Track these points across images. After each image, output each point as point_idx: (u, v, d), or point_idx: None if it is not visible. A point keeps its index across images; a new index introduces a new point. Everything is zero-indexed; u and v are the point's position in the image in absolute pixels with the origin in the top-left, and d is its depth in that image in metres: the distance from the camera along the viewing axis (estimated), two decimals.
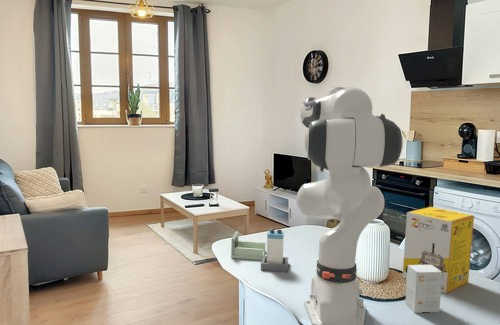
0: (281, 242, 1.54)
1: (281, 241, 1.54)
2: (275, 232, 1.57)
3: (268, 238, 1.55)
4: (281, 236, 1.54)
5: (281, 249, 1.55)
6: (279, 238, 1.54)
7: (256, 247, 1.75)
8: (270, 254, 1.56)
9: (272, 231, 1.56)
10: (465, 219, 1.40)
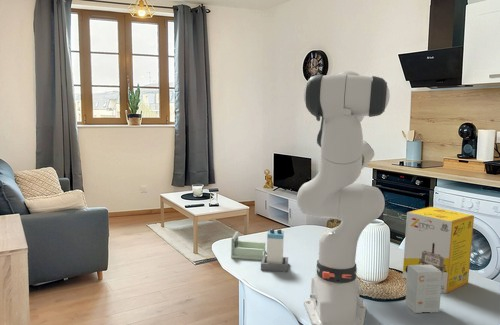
0: (281, 242, 1.54)
1: (281, 241, 1.54)
2: (275, 232, 1.57)
3: (268, 238, 1.55)
4: (281, 236, 1.54)
5: (281, 249, 1.55)
6: (279, 238, 1.54)
7: (256, 247, 1.75)
8: (270, 254, 1.56)
9: (272, 231, 1.56)
10: (465, 219, 1.40)
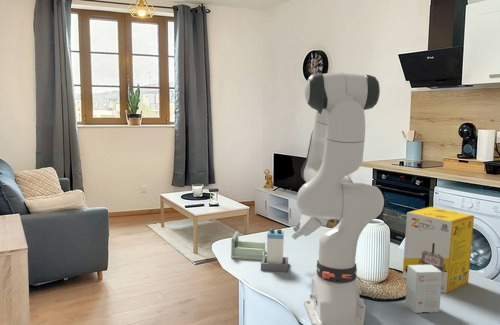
0: (281, 242, 1.54)
1: (281, 241, 1.54)
2: (275, 232, 1.57)
3: (268, 238, 1.55)
4: (281, 236, 1.54)
5: (281, 249, 1.55)
6: (279, 238, 1.54)
7: (256, 247, 1.75)
8: (270, 254, 1.56)
9: (272, 231, 1.56)
10: (465, 219, 1.40)
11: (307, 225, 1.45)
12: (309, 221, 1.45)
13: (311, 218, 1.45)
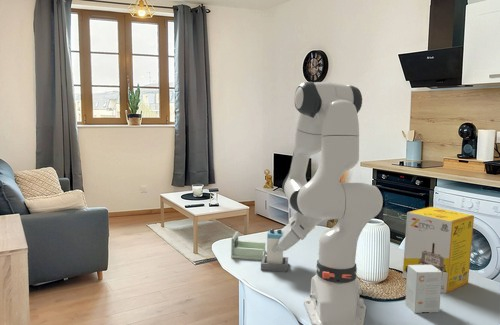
0: None
1: None
2: (275, 232, 1.57)
3: (268, 238, 1.55)
4: None
5: (281, 249, 1.55)
6: (279, 238, 1.54)
7: (256, 247, 1.75)
8: (270, 254, 1.56)
9: (272, 231, 1.56)
10: (465, 219, 1.40)
11: (285, 240, 1.47)
12: (287, 236, 1.47)
13: (289, 233, 1.47)
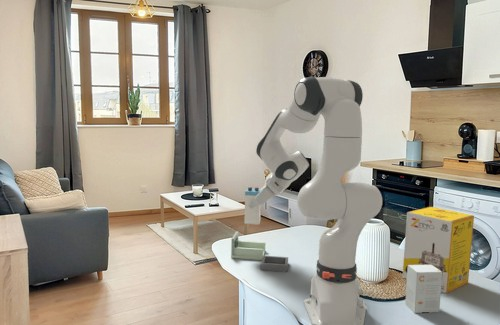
0: None
1: None
2: (253, 190, 1.68)
3: (246, 195, 1.66)
4: None
5: (258, 205, 1.65)
6: None
7: (256, 247, 1.75)
8: (248, 210, 1.66)
9: (250, 189, 1.67)
10: (465, 219, 1.40)
11: (261, 195, 1.57)
12: (262, 191, 1.57)
13: (264, 189, 1.57)
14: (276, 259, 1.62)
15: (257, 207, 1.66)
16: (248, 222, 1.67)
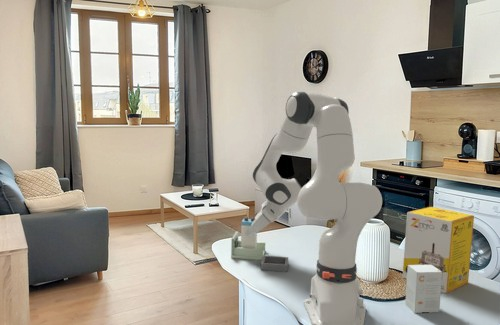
0: None
1: None
2: (249, 220, 1.71)
3: (242, 225, 1.68)
4: None
5: (254, 235, 1.68)
6: None
7: None
8: (244, 240, 1.69)
9: (246, 219, 1.70)
10: (465, 219, 1.40)
11: (257, 222, 1.60)
12: (258, 219, 1.60)
13: (260, 216, 1.60)
14: (276, 259, 1.62)
15: (253, 237, 1.68)
16: None
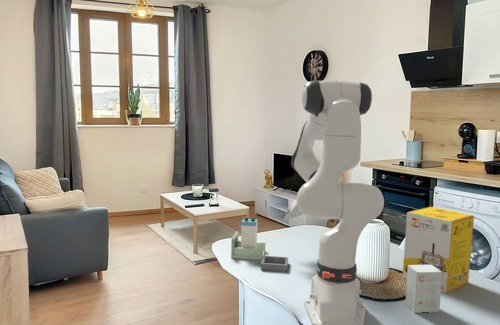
0: (254, 229, 1.68)
1: (254, 228, 1.68)
2: (249, 220, 1.71)
3: (242, 225, 1.68)
4: (254, 223, 1.67)
5: (254, 235, 1.68)
6: (252, 225, 1.68)
7: None
8: (244, 240, 1.69)
9: (246, 219, 1.70)
10: (465, 219, 1.40)
11: (297, 207, 1.58)
12: None
13: None
14: (276, 259, 1.62)
15: (253, 237, 1.68)
16: None
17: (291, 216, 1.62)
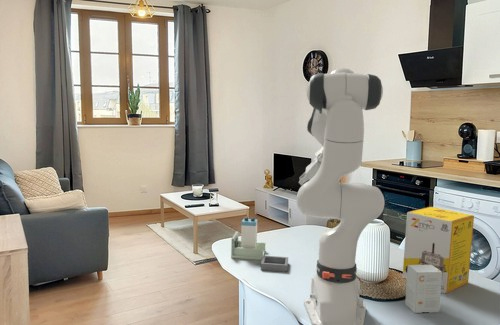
0: (254, 229, 1.68)
1: (254, 228, 1.68)
2: (249, 220, 1.71)
3: (242, 225, 1.68)
4: (254, 223, 1.67)
5: (254, 235, 1.68)
6: (252, 225, 1.68)
7: None
8: (244, 240, 1.69)
9: (246, 219, 1.70)
10: (465, 219, 1.40)
11: (313, 169, 1.58)
12: (314, 166, 1.58)
13: (316, 163, 1.59)
14: (276, 259, 1.62)
15: (253, 237, 1.68)
16: None
17: (306, 179, 1.63)
